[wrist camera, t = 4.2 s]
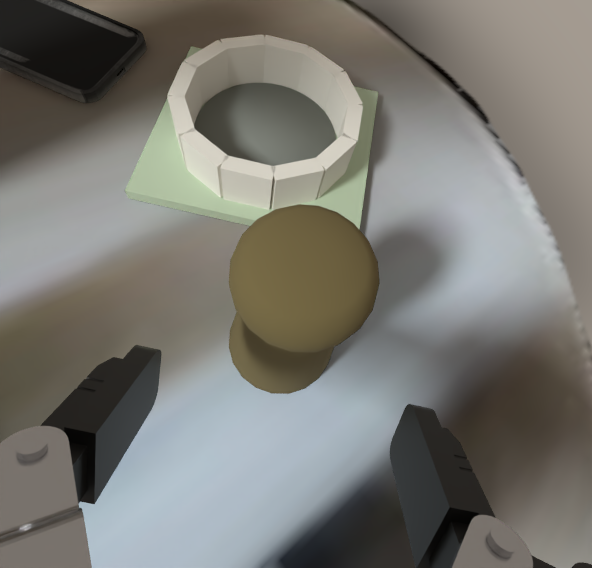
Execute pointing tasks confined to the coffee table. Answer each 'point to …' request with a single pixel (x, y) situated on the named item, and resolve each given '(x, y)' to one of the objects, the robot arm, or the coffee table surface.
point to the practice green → (258, 134)
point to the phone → (66, 47)
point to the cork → (297, 294)
